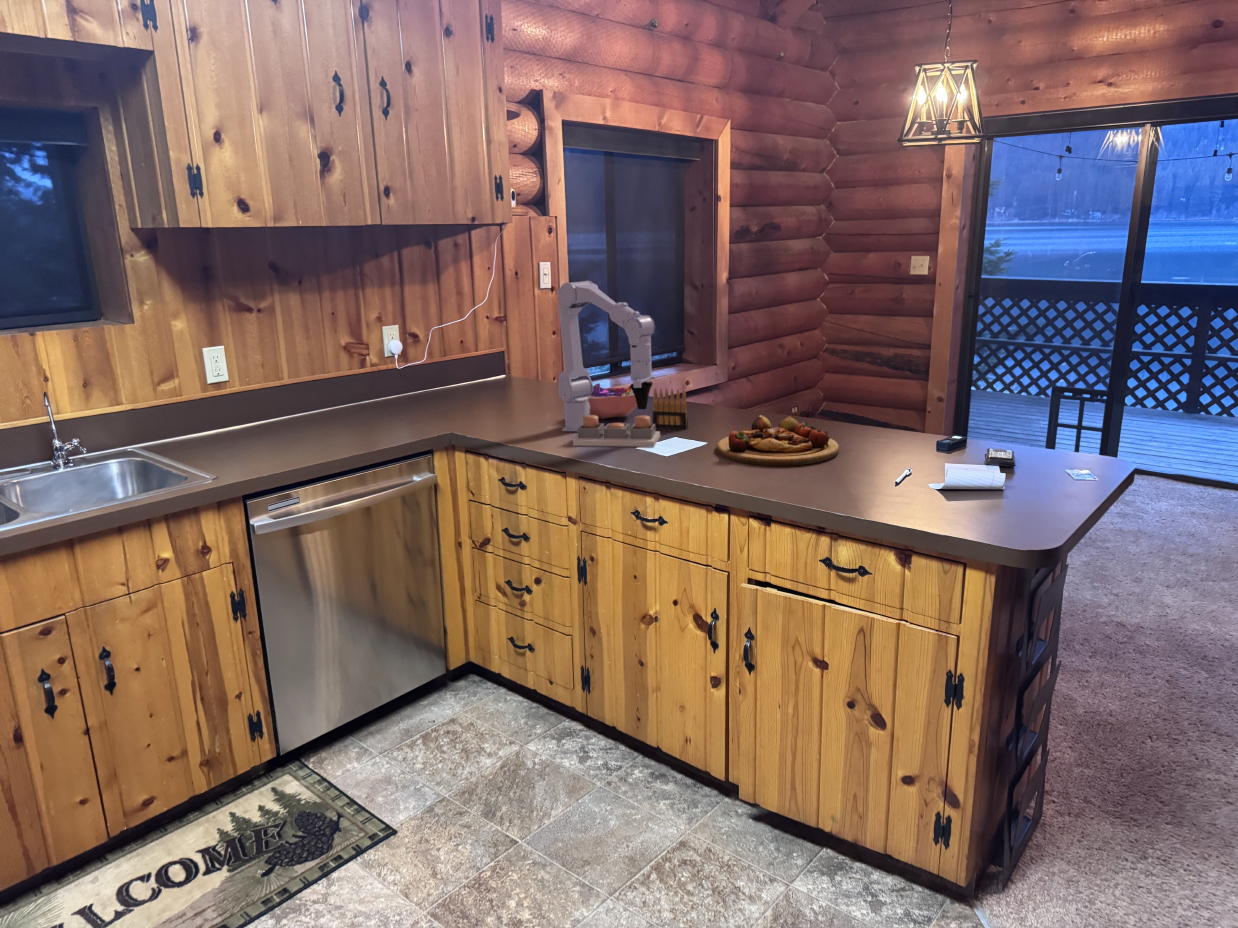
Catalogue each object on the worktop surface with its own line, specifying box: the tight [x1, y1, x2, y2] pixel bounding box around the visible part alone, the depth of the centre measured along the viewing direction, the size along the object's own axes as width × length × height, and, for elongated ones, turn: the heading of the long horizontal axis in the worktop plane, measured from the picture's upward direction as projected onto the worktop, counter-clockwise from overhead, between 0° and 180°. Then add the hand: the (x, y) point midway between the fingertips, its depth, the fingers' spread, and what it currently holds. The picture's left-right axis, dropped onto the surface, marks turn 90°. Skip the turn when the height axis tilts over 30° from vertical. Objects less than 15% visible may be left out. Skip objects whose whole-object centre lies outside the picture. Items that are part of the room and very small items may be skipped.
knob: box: [634, 414, 651, 429], centre depth 242 cm, size 4×4×3 cm
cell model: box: [588, 382, 637, 420], centre depth 273 cm, size 17×20×11 cm
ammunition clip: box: [652, 388, 689, 430], centre depth 257 cm, size 11×2×12 cm, turn 69°
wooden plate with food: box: [716, 414, 840, 467], centre depth 228 cm, size 32×32×8 cm
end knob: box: [583, 415, 600, 428], centre depth 245 cm, size 4×4×3 cm
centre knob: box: [609, 422, 625, 428], centre depth 244 cm, size 4×4×3 cm
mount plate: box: [572, 423, 661, 448], centre depth 244 cm, size 12×23×4 cm, turn 79°
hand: (642, 408), depth 241 cm, fingers closed
